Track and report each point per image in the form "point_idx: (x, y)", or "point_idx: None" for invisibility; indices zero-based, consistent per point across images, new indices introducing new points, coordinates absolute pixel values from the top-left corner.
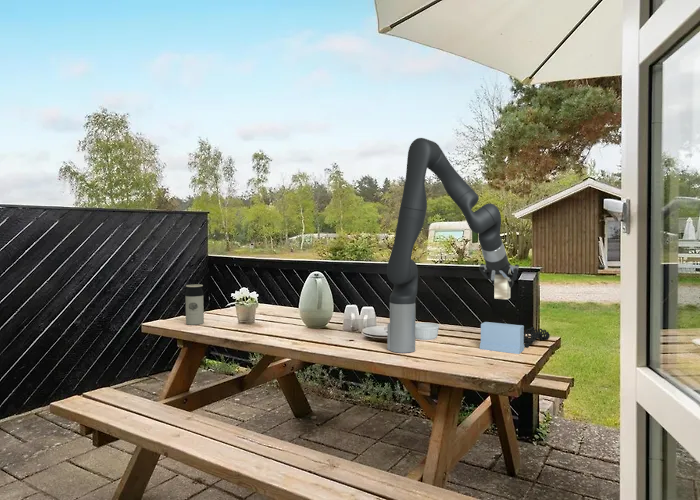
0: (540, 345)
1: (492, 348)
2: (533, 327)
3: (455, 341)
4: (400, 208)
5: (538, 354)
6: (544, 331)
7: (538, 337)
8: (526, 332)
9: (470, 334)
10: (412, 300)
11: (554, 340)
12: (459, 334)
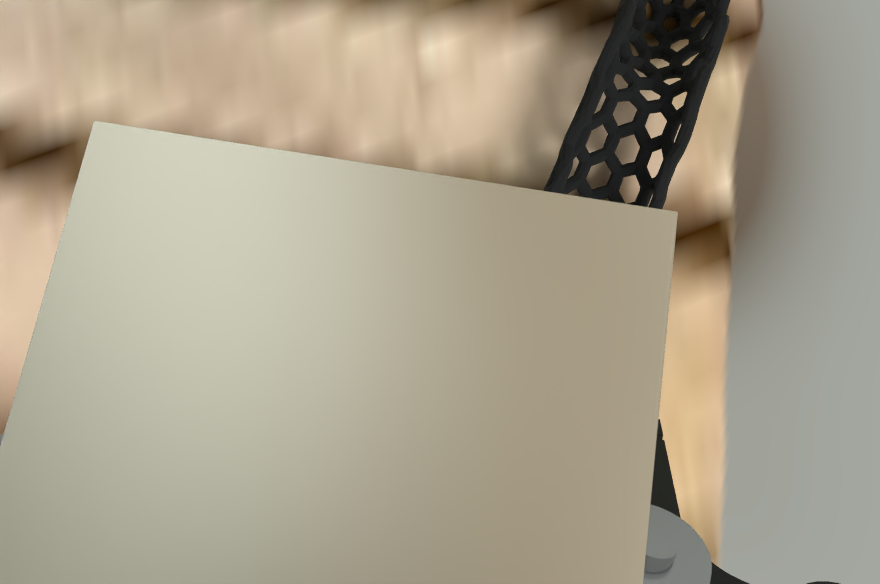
0: (675, 211)
1: None
2: (633, 14)
3: (14, 324)
4: None
5: (699, 532)
6: (719, 49)
7: (650, 55)
8: (581, 127)
9: (113, 23)
10: None
11: (749, 5)
12: (25, 54)
